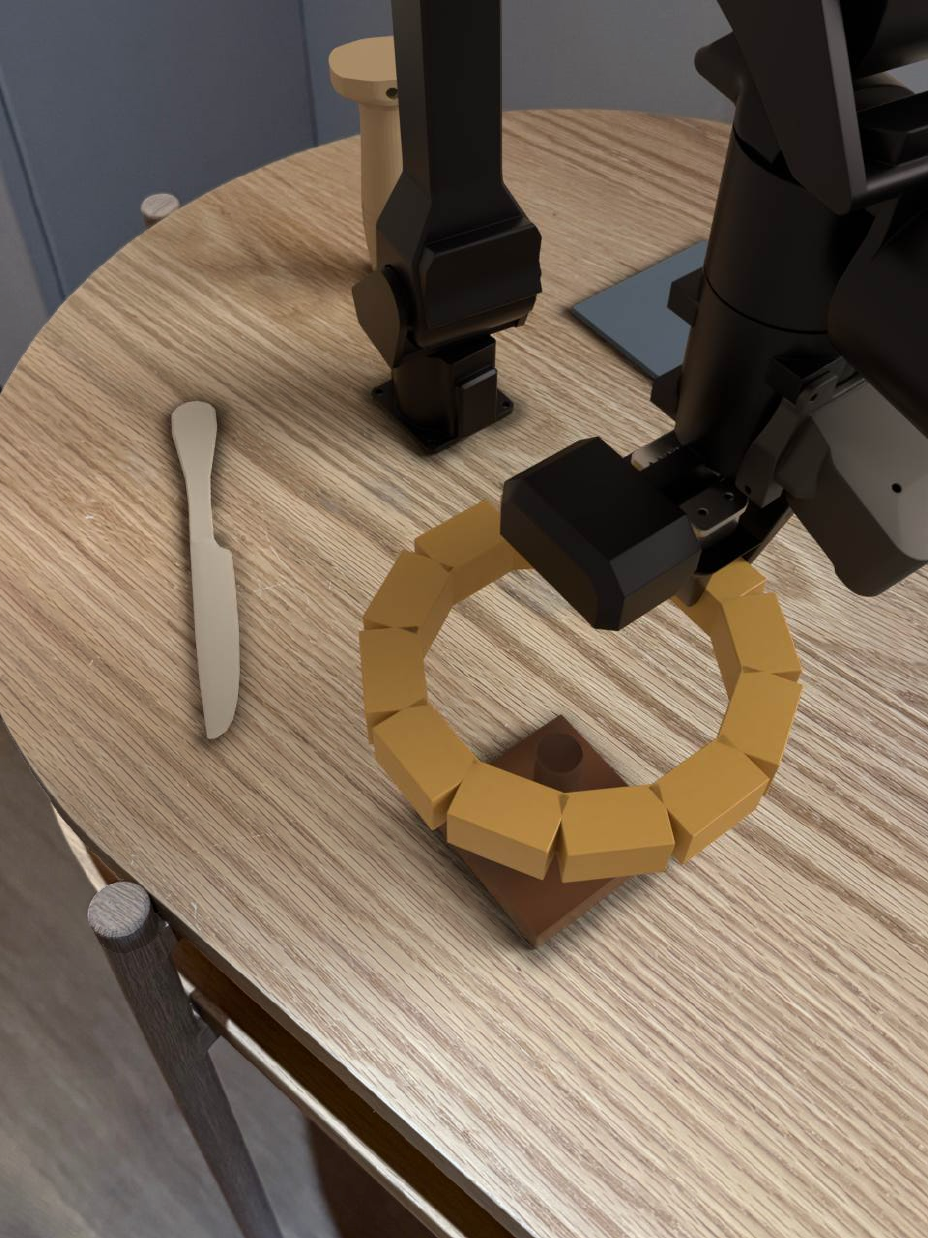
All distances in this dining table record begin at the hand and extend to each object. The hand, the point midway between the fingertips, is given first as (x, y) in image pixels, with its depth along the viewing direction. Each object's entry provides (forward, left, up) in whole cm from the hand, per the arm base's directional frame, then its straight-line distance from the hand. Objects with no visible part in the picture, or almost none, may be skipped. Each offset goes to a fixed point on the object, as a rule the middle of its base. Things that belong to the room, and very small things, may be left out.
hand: (707, 583), depth 48 cm
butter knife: (-23, -13, -11) cm, 29 cm away
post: (+1, -9, -11) cm, 14 cm away
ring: (0, -7, -1) cm, 7 cm away
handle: (-37, +9, -11) cm, 40 cm away
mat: (-21, +22, -11) cm, 33 cm away
